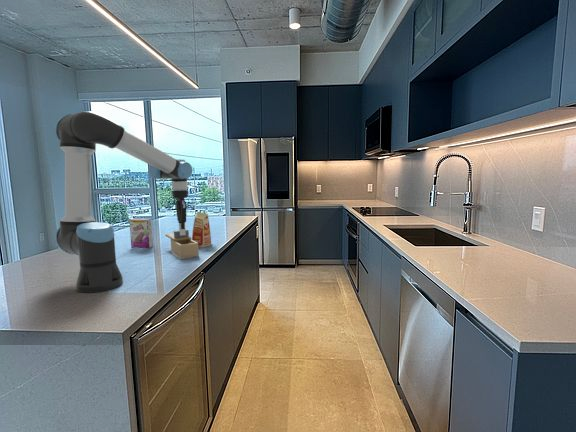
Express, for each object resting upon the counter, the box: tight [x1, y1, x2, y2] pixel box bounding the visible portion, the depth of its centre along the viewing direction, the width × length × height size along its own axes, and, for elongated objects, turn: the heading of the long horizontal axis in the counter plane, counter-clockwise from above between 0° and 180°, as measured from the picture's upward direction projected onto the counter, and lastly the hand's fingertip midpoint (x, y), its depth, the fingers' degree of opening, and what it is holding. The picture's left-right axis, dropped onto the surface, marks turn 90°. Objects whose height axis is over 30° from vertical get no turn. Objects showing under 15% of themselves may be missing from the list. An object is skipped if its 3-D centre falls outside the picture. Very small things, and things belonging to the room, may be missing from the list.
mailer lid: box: [164, 229, 192, 241], centre depth 176 cm, size 9×18×5 cm, turn 34°
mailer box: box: [170, 238, 200, 260], centre depth 168 cm, size 9×18×7 cm, turn 34°
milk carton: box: [191, 211, 212, 248], centre depth 189 cm, size 9×9×20 cm
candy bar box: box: [129, 218, 154, 249], centre depth 186 cm, size 11×5×16 cm, turn 84°
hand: (182, 235), depth 169 cm, fingers closed
